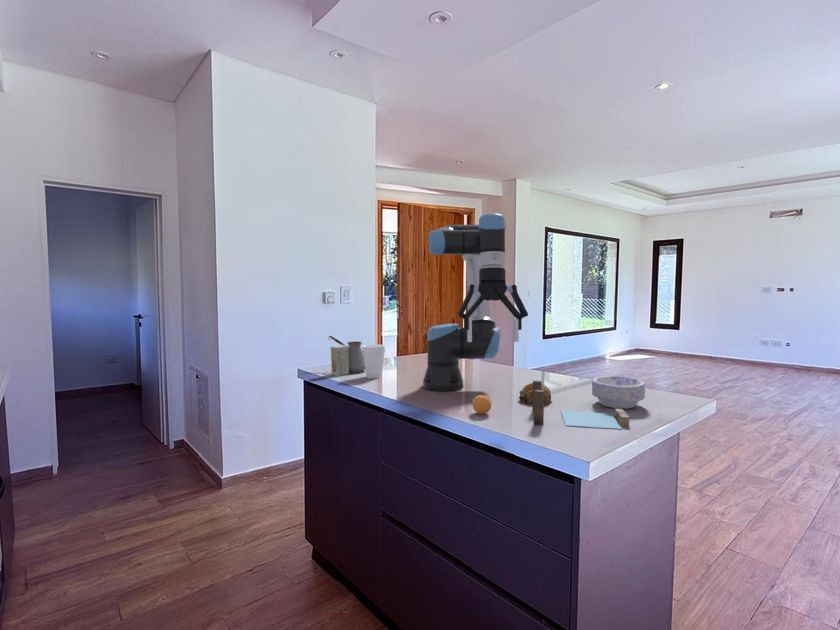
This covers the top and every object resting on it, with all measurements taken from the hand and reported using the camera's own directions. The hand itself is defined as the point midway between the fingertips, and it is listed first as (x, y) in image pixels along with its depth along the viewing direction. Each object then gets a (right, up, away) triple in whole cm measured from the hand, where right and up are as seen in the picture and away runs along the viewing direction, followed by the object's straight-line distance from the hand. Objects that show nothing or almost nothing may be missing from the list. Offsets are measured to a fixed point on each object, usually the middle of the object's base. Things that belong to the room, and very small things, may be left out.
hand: (492, 341), depth 128 cm
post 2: (+12, -22, -6) cm, 26 cm away
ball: (-3, -19, +3) cm, 19 cm away
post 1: (+14, -21, +6) cm, 26 cm away
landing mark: (+27, -22, -3) cm, 34 cm away
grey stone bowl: (+41, -21, +12) cm, 48 cm away
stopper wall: (+35, -22, -5) cm, 41 cm away
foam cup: (-40, -18, +57) cm, 72 cm away
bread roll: (+17, -21, +18) cm, 32 cm away
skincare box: (-55, -18, +62) cm, 85 cm away
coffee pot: (-54, -17, +72) cm, 92 cm away
